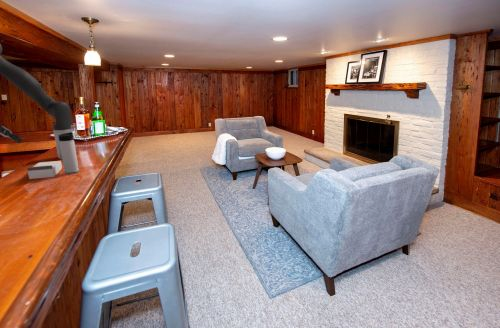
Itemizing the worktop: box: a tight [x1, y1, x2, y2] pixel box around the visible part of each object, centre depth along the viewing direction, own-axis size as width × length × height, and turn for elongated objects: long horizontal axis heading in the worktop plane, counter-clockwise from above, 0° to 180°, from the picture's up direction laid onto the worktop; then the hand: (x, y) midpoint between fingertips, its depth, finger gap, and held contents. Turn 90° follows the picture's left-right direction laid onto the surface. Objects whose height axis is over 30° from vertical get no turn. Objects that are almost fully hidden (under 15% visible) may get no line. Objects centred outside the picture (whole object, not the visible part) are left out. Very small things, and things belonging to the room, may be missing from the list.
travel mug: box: [58, 131, 80, 175], centre depth 148 cm, size 6×7×20 cm
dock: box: [26, 160, 63, 180], centre depth 149 cm, size 16×10×6 cm, turn 19°
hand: (20, 140), depth 139 cm, fingers open, 8 cm apart
